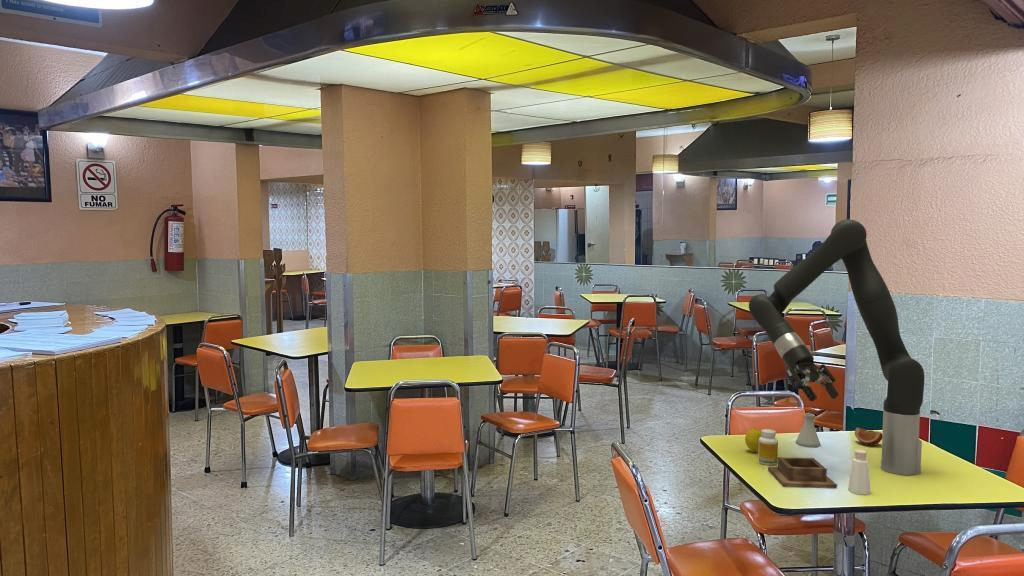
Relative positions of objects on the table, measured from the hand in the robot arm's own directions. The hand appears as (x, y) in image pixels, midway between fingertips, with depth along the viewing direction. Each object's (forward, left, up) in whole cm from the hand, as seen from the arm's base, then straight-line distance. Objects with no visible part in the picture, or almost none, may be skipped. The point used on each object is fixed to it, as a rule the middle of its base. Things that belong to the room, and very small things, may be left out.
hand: (825, 398), depth 195 cm
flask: (-8, -34, -23) cm, 42 cm away
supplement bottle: (+11, -13, -23) cm, 28 cm away
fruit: (+12, -24, -23) cm, 35 cm away
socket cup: (+6, +1, -22) cm, 23 cm away
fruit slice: (-28, -36, -23) cm, 51 cm away
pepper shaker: (-6, +10, -23) cm, 26 cm away
